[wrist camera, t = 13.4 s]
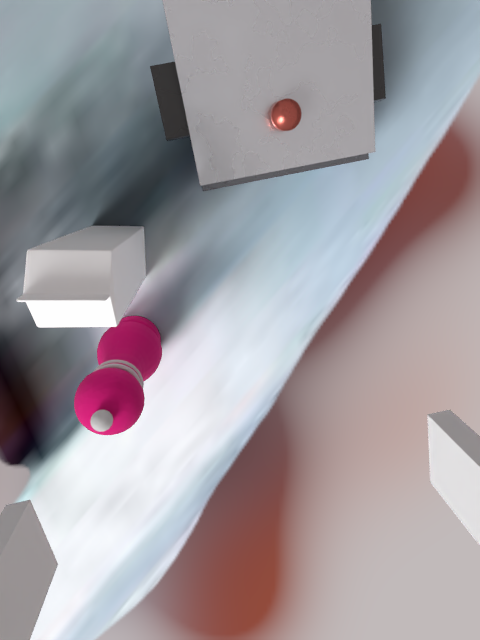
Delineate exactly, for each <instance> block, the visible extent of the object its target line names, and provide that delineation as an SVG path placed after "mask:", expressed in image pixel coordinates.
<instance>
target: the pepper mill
mask: <svg viewBox="0 0 480 640" xmlns="http://www.w3.org/2000/svg"><path fill="white" fill-rule="evenodd" d="M161 357H162V347H161V337H160V333H159V331H158V329H157V327H156V326H155V325H154V324H153V323H152V322H151V321H150V320H148V319H146V318H144V317H140V316H128V317H125V318H123V319H121V321H120V322H119V324H118V326H117V327H111V328H109V329H108V330H107V331H106V332H105V333H104V334H103V336H102V338H101V340H100V342H99V345H98V349H97V358H98V363H99V366H98V367H97V368H96V369H95V370H94V372H93V373H91V374H89V375H88V376H86V378H85V379H84V380H83V381H82V382H81V383H80V385H79V387H78V389H77V391H76V394H75V399H74V407H75V412H76V415H77V417H78V419H79V421H80V422H81V424H82V425H83V426H85V427H86V428H87V429H88V430H90V431H92V432H94V433H97V434H101V435H113V434H118V433H121V432H123V431H125V430H127V429H129V428H130V427H131V426H132V425H133V424H135V422H136V421H137V420H138V418H139V417H140V415H141V413H142V410H143V407H144V392H143V381H145V380H146V379H148V378H149V377H150V376H151V375H152V374H153V373H154V372H155V371H156V369H157V368H158V365H159V363H160V361H161Z"/></svg>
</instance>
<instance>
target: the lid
mask: <svg viewBox="0 0 480 640" xmlns="http://www.w3.org/2000/svg"><path fill="white" fill-rule="evenodd" d="M163 5H164V10H165V15H166V20H167V25H168V30H169V34H170V39H171V44H172V49H173V54H174V59H175V64H176V69H177V74H178V79H179V84H180V88H181V93H182V98H183V103H184V108H185V113H186V118H187V123H188V128H189V133H190V138H191V143H192V147H193V152H194V157H195V162H196V167H197V172H198V177H199V182H200V186H202V185H207V184H212V183H217V182H222V181H227V180H233V179H238V178H243V177H248V176H253V175H258V174H264V173H269V172H274V171H279V170H284V169H289V168H295V167H300V166H305V165H310V164H315V163H320V162H326V161H331V160H336V159H341V158H346V157H351V156H357V155H362V154H367V153H372V152H375V126H374V92H373V58H372V23H371V0H163Z"/></svg>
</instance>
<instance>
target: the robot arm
mask: <svg viewBox="0 0 480 640" xmlns="http://www.w3.org/2000/svg"><path fill="white" fill-rule="evenodd" d="M428 438H429V461H430V482H431V484H432V485H433V486H434V487H435V489H436V490H437V491H438V493H439V494H440V495H441V496H442V498H443V499H444V500H445V502H446V503H447V504H448V505H449V507H450V508H451V509H452V511H453V512H454V513H455V514H456V516H457V517H458V518H459V520H460V521H461V522H462V523H463V525H464V526H465V527H466V529H467V530H468V531H469V532H470V534H471V535H472V536H473V538H474V539H475V540H476V541H477V543H478V544H479V545H480V436H479V435H478V434H477V433H475V432H474V431H473V430H472V429H471V428H470V427H469V426H467V425H466V424H465V423H464V422H463V421H462V420H461V419H460V418H459V417H458V416H456V415H455V414H454V413H453V412H452V411H451V410H447V411H442V412H437V413H433V414H428ZM57 565H58V563H57V561H56V559H55V556H54V554H53V552H52V549H51V547H50V545H49V542H48V540H47V538H46V535H45V533H44V531H43V528H42V526H41V524H40V521H39V519H38V517H37V515H36V512H35V510H34V508H33V505H32V503H31V501H30V500H28V501H23V502H18V503H14V504H9V505H6V507H5V508H4V510H3V511H2V513H1V515H0V640H30V638H31V635H32V632H33V630H34V627H35V624H36V622H37V619H38V616H39V613H40V611H41V608H42V605H43V603H44V600H45V597H46V595H47V592H48V589H49V587H50V584H51V581H52V579H53V576H54V573H55V571H56V568H57Z"/></svg>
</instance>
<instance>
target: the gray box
mask: <svg viewBox="0 0 480 640" xmlns="http://www.w3.org/2000/svg"><path fill="white" fill-rule="evenodd" d="M372 58H373V92H374V102H376V101H381V100H383V99H385V98H386V97H385V81H384V65H383V49H382V32H381V24H378V25H372ZM150 68H151V72H152V77H153V81H154V86H155V90H156V95H157V99H158V104H159V108H160V113H161V117H162V122H163V126H164V131H165V135H166V140H167V141H171V140H176V139H181V138H186V137H190V133H189V128H188V123H187V118H186V113H185V108H184V103H183V98H182V93H181V88H180V84H179V79H178V74H177V69H176V64H175V62H171V63H165V64H160V65H154V66H150ZM366 159H369V156H368V153H367V154H362V155H357V156H351V157H346V158H341V159H336V160H331V161H326V162H320V163H315V164H310V165H305V166H300V167H295V168H289V169H284V170H279V171H274V172H269V173H264V174H258V175H253V176H248V177H243V178H238V179H233V180H227V181H222V182H217V183H212V184H207V185H202V189H203V191H206V190H211V189H216V188H221V187H226V186H232V185H237V184H242V183H247V182H252V181H257V180H262V179H268V178H273V177H278V176H283V175H288V174H293V173H299V172H304V171H309V170H314V169H319V168H324V167H329V166H335V165H340V164H345V163H350V162H355V161H360V160H366Z"/></svg>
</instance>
